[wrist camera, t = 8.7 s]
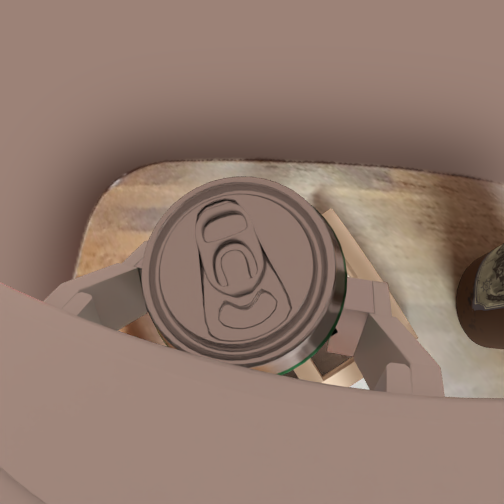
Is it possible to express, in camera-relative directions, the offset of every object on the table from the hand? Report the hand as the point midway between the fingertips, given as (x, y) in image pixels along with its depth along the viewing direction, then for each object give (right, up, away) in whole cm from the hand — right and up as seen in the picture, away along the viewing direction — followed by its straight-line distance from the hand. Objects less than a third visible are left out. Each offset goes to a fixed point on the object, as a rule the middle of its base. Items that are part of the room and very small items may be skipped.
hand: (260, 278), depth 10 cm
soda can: (+1, -3, +8) cm, 8 cm away
